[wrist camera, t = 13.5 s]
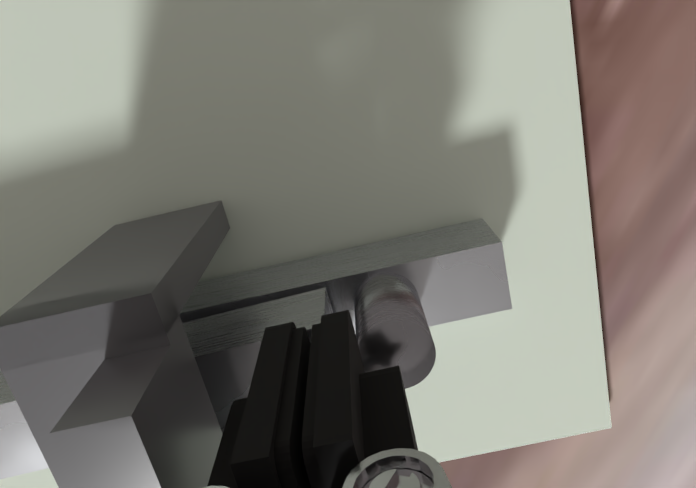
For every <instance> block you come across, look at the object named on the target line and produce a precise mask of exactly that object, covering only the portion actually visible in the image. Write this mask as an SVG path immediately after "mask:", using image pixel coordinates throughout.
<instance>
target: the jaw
mask: <svg viewBox="0 0 696 488" xmlns="http://www.w3.org/2000/svg"><path fill="white" fill-rule="evenodd" d="M331 313H333V310H332V307H331V304H330V300H329V297H328V294H327V290H326V287H325V288H321V289H317V290H312V291H308V292H304V293H300V294H296V295H292V296H288V297H284V298H280V299H276V300H272V301H268V302H264V303H260V304H256V305H252V306H248V307H244V308H240V309H236V310H232V311H228V312H224V313H220V314H216V315H212V316H208V317H204V318H200V319H196V320H191V321H187V322H183V323H182V324H183V326H184V329H185V332H186V335H187V337H188V340H189V343H190V346H191V349H192V351H193V354H194V357H195V360H196V362H197V365H198V368H199V371H200V373H201V376H202V379H203V382H204V384H205V387H206V390H207V393H208V395H209V398H210V401H211V404H212V406H213V409H214V412H215V415H216V417H217V420H218V423H219V426H220V428H223V427H225V425H226V421H227V418H228V414H229V411H230V408H231V405H232V403H233V401H235V400H237V399H242V398H247V396H248V393H249V389H250V385H251V381H252V377H253V373H254V369H255V365H256V362H257V358H258V354H259V350H260V346H261V342H262V338H263V334H264V331H265V328H266V327H271V326H276V325H280V324H285V323H289V322H294V324H295V326H296V328H300V327H305V328H306V330H307V333H308V336H309V339H310V343H311V332H312V325H314V324H319V323H321V316H322V315H326V314H331ZM47 468H49V467H48V465H47V463H46V461H45V459H44V456H43V454H42V452H41V450H40V448H39V446H38V444H37V442H36V440H35V438H34V436H33V434H32V432H31V430H30V428H29V426H28V424H27V422H26V420H25V418H24V416H23V414H22V412H21V410H20V408H19V406H18V404H17V402H16V400H15V398H14V395H13V393H12V391H11V389H10V387H9V385H8V383H7V381H6V379H5V377H4V375H3V373H2V371H1V369H0V479H4V478H9V477H13V476H17V475H22V474H26V473H30V472H34V471H39V470H43V469H47Z"/></svg>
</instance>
